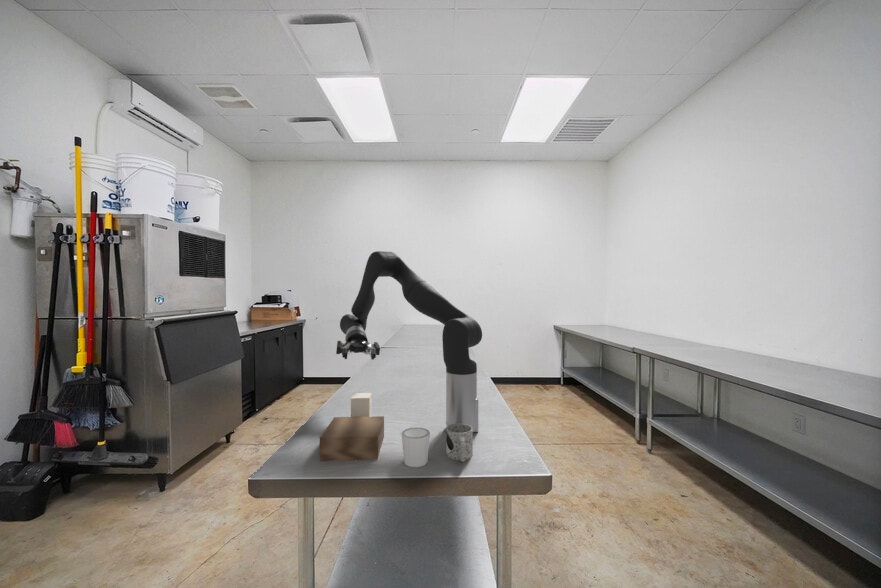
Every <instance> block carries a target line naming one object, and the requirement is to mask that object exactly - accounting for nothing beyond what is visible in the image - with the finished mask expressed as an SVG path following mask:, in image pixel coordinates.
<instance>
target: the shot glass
mask: <svg viewBox="0 0 881 588" xmlns="http://www.w3.org/2000/svg"><path fill="white" fill-rule="evenodd" d="M430 435H431V432H430V430H429V429H427V428H423V427H410V428H406V429H404V430H402V432H401V444H402V452H403V463H404V465H405V466H407V467H411V468H419V467H423V466H425V465H426V464H427V463H428V461H429V460H428V459H429V445H430V438H431V437H430Z"/></svg>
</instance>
